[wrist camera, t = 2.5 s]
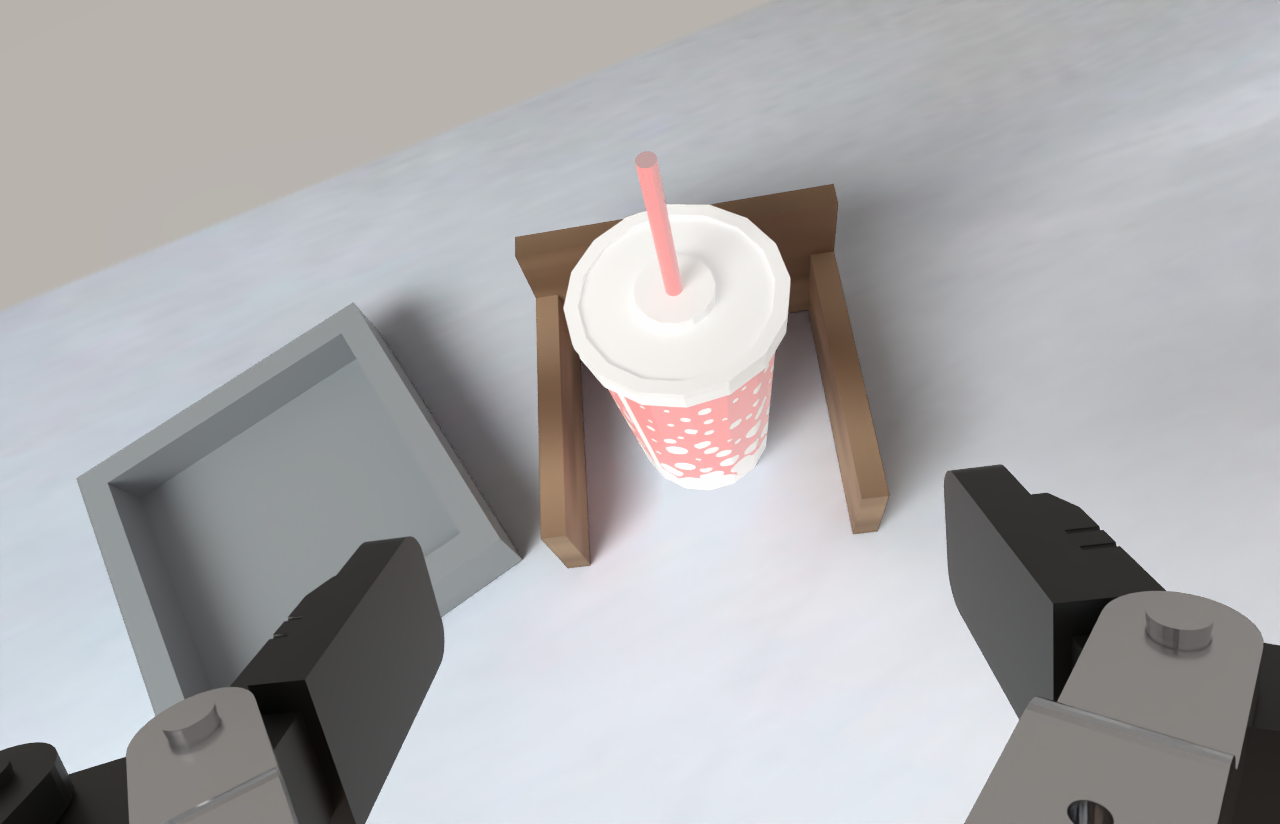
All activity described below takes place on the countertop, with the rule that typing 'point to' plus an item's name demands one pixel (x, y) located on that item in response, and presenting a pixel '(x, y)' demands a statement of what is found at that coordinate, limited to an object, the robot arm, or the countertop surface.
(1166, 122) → the countertop surface
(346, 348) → the grey tray
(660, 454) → the beverage cup
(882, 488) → the walnut bay
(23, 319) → the countertop surface
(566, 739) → the countertop surface
